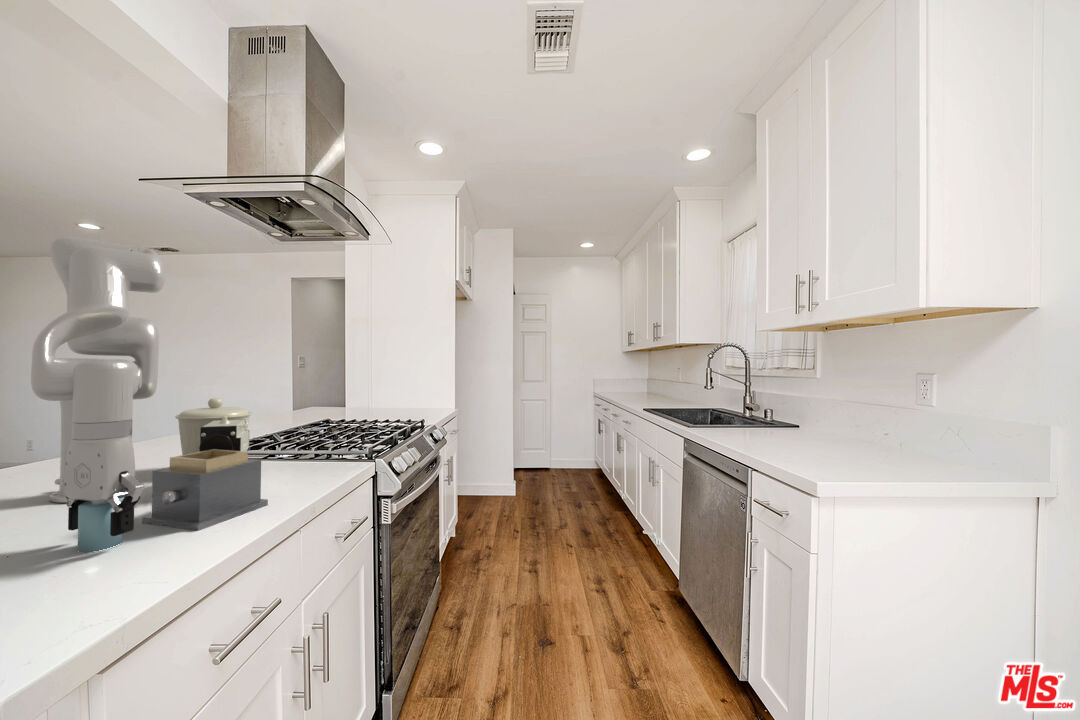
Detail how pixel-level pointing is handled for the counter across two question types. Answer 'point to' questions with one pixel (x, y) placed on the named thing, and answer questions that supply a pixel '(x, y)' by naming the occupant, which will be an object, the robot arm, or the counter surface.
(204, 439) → the cream boxy piece
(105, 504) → the drain pump
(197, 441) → the canister
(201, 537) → the counter surface
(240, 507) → the grey box
